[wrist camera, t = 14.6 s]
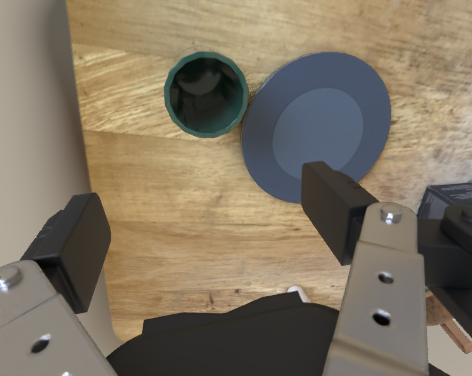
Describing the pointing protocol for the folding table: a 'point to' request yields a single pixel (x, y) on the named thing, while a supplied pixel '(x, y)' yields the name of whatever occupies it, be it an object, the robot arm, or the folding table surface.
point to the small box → (444, 199)
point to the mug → (445, 321)
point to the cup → (205, 92)
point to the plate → (315, 121)
